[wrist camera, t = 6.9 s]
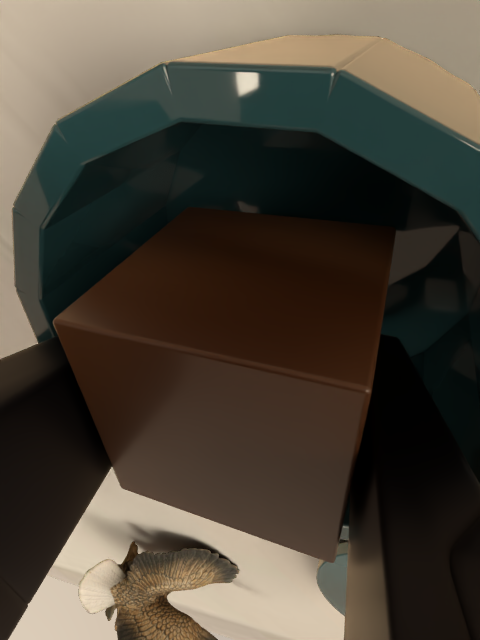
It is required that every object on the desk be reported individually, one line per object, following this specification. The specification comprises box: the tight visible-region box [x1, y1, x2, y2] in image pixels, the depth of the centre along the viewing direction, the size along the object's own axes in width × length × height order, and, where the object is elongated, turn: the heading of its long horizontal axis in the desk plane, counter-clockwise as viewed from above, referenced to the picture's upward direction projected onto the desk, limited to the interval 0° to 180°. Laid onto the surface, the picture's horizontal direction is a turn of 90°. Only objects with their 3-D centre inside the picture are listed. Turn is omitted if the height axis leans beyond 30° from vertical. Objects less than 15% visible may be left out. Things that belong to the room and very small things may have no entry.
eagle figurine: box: [78, 541, 239, 640], centre depth 26 cm, size 8×7×9 cm
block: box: [53, 207, 396, 563], centre depth 7 cm, size 4×4×4 cm
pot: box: [12, 34, 480, 540], centre depth 9 cm, size 9×9×5 cm
